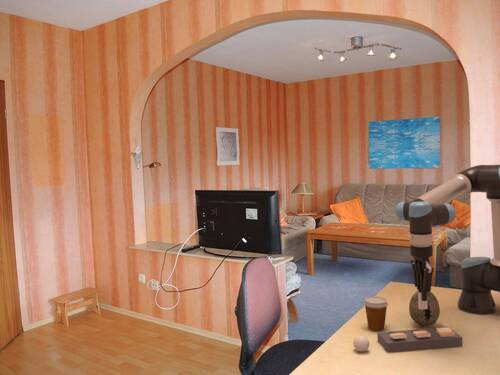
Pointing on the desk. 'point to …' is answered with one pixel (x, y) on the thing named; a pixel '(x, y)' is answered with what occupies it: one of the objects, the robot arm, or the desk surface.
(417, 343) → the power strip
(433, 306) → the decorative egg
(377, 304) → the disposable coffee cup
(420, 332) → the middle rocker
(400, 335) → the rocker
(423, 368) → the desk surface
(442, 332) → the rocker
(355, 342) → the white ball
